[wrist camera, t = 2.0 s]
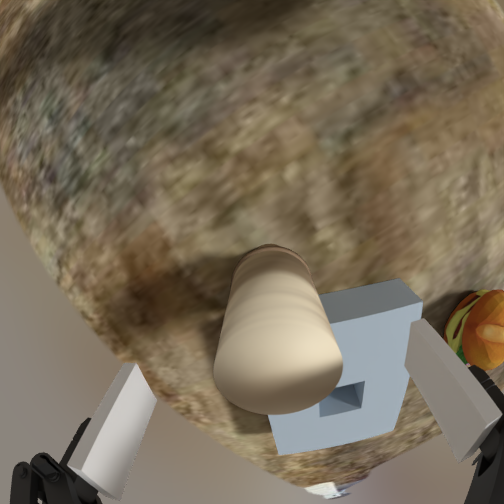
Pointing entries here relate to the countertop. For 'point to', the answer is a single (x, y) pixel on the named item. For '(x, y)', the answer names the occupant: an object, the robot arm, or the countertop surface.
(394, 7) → the countertop surface
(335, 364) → the peg
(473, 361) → the cheeseburger
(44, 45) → the countertop surface
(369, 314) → the board
